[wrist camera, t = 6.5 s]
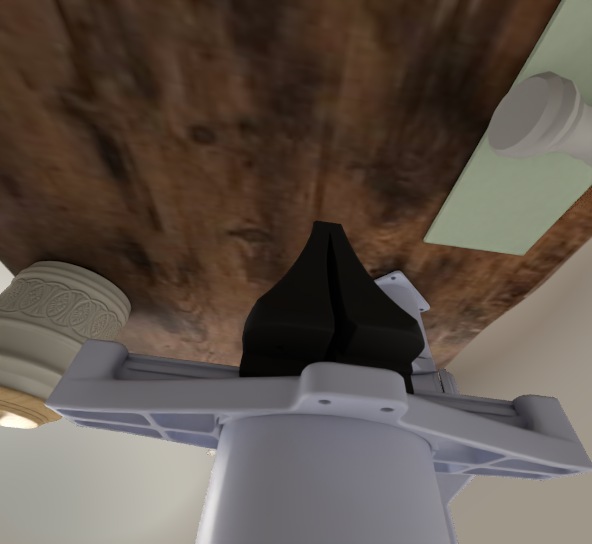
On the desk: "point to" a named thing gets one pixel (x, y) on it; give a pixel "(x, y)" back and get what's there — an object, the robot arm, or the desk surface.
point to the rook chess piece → (542, 120)
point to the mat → (523, 172)
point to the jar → (50, 333)
